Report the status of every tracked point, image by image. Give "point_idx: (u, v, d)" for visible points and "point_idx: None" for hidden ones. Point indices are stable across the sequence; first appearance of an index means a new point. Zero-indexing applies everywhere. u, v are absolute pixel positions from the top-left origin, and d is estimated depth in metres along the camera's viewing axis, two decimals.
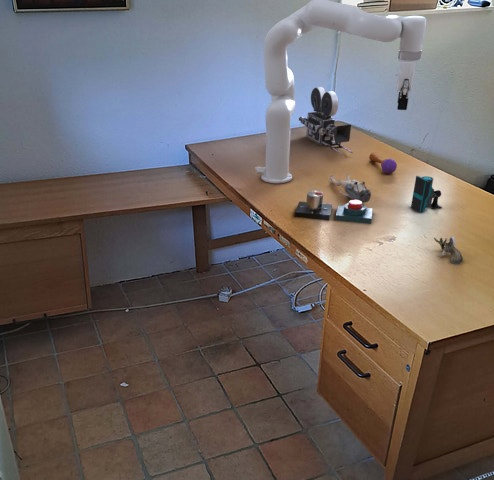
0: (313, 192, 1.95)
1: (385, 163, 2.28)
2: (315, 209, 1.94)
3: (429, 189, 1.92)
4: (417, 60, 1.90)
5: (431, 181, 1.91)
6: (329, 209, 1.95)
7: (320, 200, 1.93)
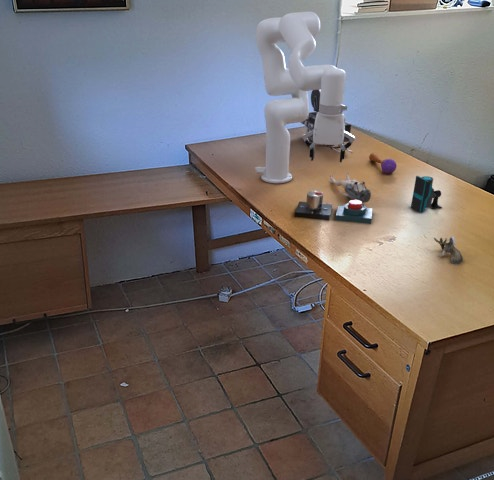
0: (313, 192, 1.95)
1: (385, 163, 2.28)
2: (315, 209, 1.94)
3: (429, 189, 1.92)
4: (322, 114, 1.80)
5: (431, 181, 1.91)
6: (329, 209, 1.95)
7: (320, 200, 1.93)
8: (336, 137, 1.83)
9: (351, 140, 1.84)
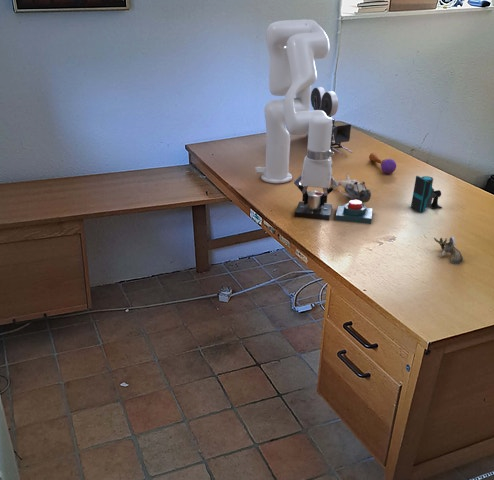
0: (313, 192, 1.95)
1: (384, 163, 2.28)
2: (315, 209, 1.94)
3: (429, 189, 1.92)
4: (309, 159, 1.86)
5: (431, 181, 1.91)
6: (329, 209, 1.95)
7: (320, 200, 1.93)
8: (323, 180, 1.88)
9: (334, 186, 1.90)
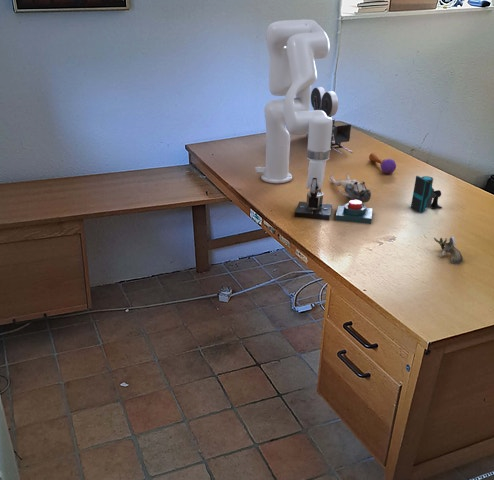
0: None
1: (384, 163, 2.28)
2: None
3: (429, 189, 1.92)
4: (325, 159, 1.84)
5: (431, 181, 1.91)
6: (329, 209, 1.95)
7: None
8: None
9: None
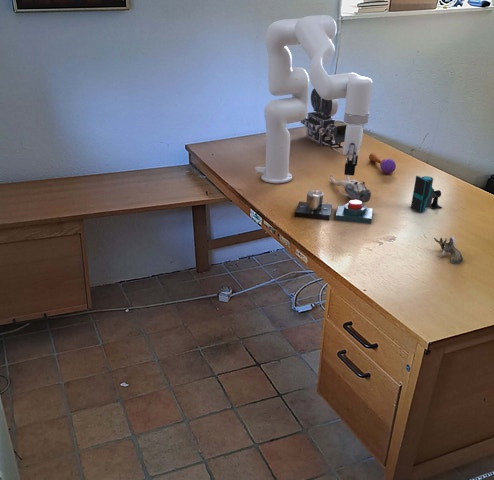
0: (312, 193, 1.93)
1: (384, 163, 2.28)
2: None
3: (429, 189, 1.92)
4: (363, 124, 1.75)
5: (431, 181, 1.91)
6: (329, 209, 1.95)
7: None
8: None
9: None
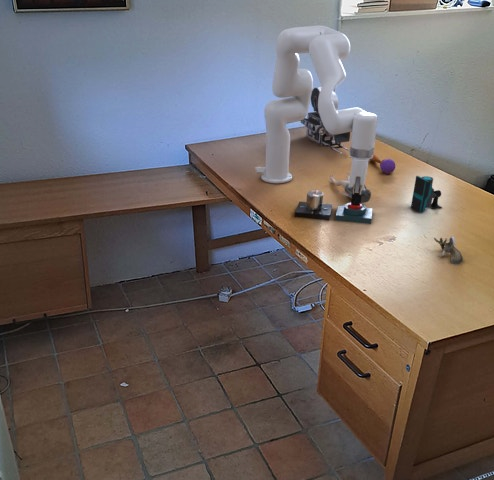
0: (312, 193, 1.93)
1: (384, 163, 2.28)
2: None
3: (429, 189, 1.92)
4: (369, 158, 1.80)
5: (431, 181, 1.91)
6: (329, 209, 1.95)
7: None
8: None
9: None
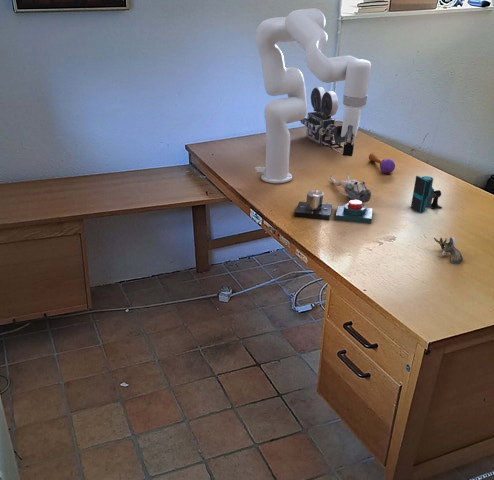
0: (312, 193, 1.93)
1: (383, 163, 2.28)
2: None
3: (429, 189, 1.92)
4: (362, 106, 1.79)
5: (431, 181, 1.91)
6: (329, 209, 1.95)
7: None
8: None
9: None
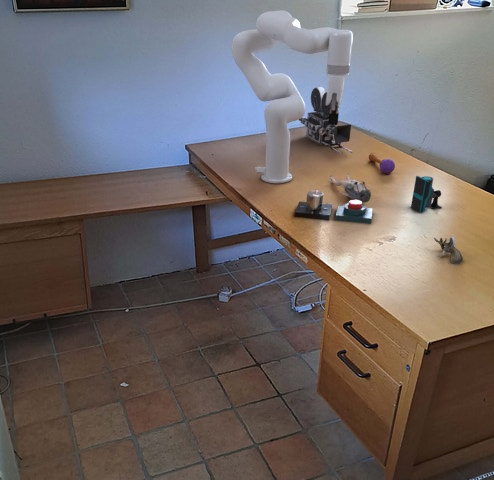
0: (312, 193, 1.93)
1: (383, 163, 2.28)
2: None
3: (429, 189, 1.92)
4: (345, 74, 1.86)
5: (431, 181, 1.91)
6: (329, 209, 1.95)
7: None
8: None
9: None
